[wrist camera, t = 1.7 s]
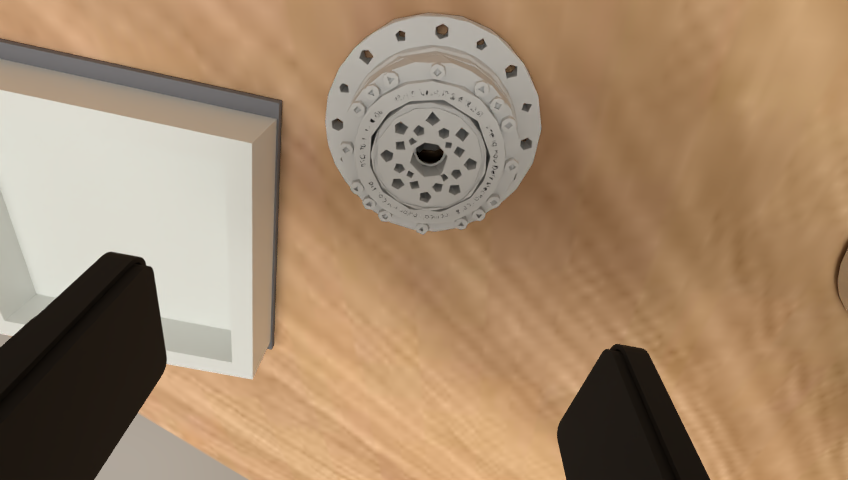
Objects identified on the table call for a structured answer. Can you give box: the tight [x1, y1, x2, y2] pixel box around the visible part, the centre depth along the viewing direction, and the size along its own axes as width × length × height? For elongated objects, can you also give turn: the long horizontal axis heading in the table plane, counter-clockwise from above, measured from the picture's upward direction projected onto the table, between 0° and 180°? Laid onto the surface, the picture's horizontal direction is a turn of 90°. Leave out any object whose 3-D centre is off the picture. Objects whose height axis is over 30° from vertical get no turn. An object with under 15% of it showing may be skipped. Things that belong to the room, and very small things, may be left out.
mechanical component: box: [325, 13, 541, 235], centre depth 21 cm, size 10×4×10 cm
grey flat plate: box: [0, 39, 282, 349], centre depth 26 cm, size 16×17×1 cm
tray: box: [0, 59, 277, 379], centre depth 24 cm, size 15×15×3 cm
